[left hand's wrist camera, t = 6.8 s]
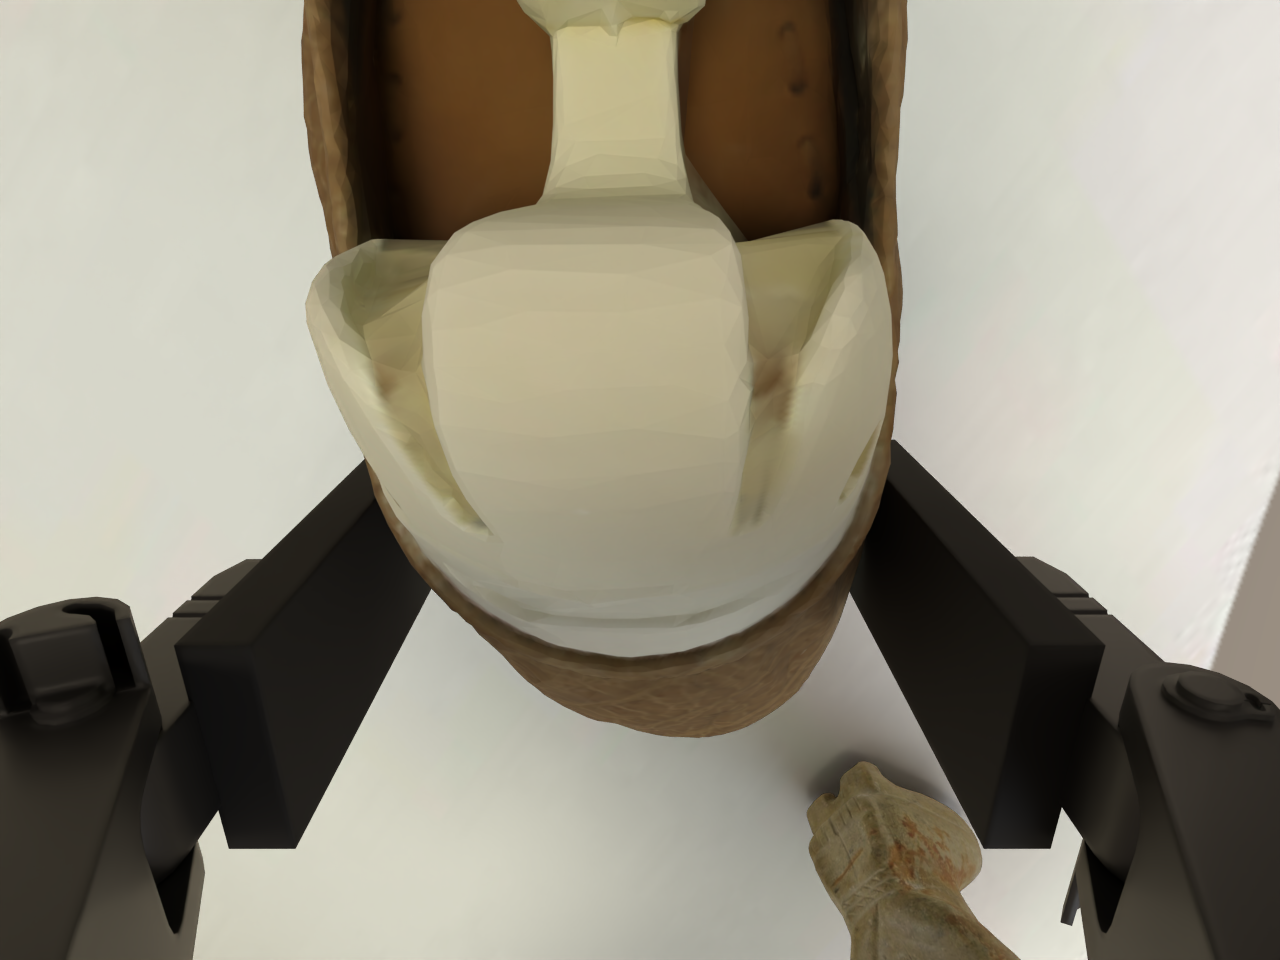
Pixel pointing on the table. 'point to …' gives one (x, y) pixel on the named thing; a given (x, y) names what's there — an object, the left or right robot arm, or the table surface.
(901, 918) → the sculpture
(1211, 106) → the table surface
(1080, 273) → the table surface
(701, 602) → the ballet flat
